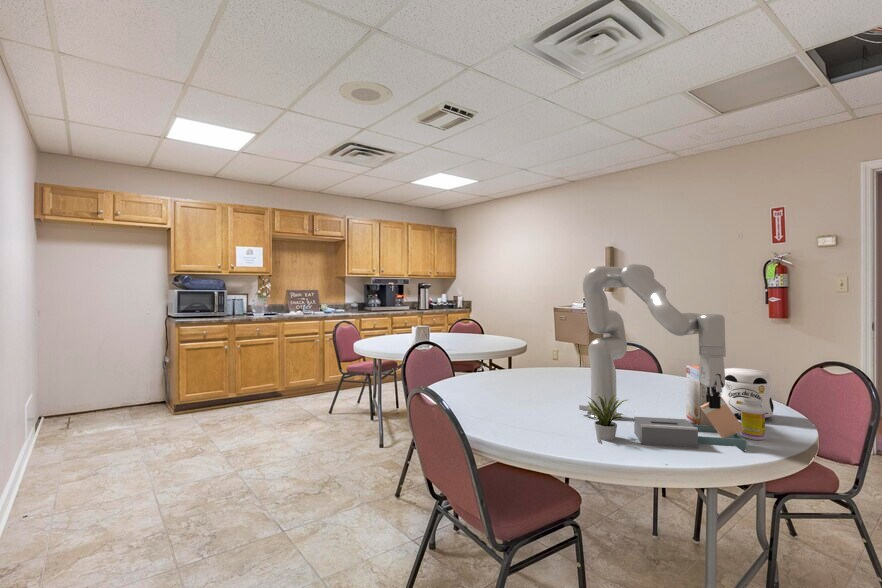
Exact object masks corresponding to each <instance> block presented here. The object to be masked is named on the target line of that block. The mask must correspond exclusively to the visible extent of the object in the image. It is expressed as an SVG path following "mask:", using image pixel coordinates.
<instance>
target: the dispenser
mask: <svg viewBox="0 0 882 588" xmlns="http://www.w3.org/2000/svg"><path fill="white" fill-rule="evenodd" d="M633 423H634V424H633V425H634V426H633V427H634V428H633V429H634V431H633V432H634V434H635V436H636V438H637V439H638V441H639V442H640V444H641V445H644V446H659V447H660V446H661V447H675V448H689V449H690V448H691V449H699V443H698V436H699V431H698V428H697V427H694V426H693V425H694V424H692V425H691V422H689V421H688V420H687V419H685V418H669V417H668V418H666V417H650V416H649V417H646V416H634V421H633Z"/></svg>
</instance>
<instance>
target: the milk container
mask: <svg viewBox="0 0 882 588" xmlns="http://www.w3.org/2000/svg"><path fill="white" fill-rule="evenodd" d="M771 384H772V383H771V373H770V372H769V371H765V370H761V369H754V368H741V367H740V368H739V367H730V368H725V386H724V387H723V388H722V392H721V397H722V398H723V399H724V401H725V402H726V404H727V405H728V407H729V408H730V410H731V411H732V413H733V414H734V416H735V417H736V418H737V419H741V408H742V406H745V402H744V399H745V398H754V399H759V400H761V405H760V407H761V408H763V409H764V411H765V420H766V419H767V420H768V419H770V418H771V417H772V416H773V414H774V410H775V409H774V408H775V406H774V402H773V399H772V394H771V386H772V385H771Z"/></svg>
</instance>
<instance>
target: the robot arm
mask: <svg viewBox="0 0 882 588" xmlns="http://www.w3.org/2000/svg"><path fill="white" fill-rule="evenodd" d="M605 288H607V289H608V288H613V289H614V288H628V289H629V290H631V291H632V292H633V293H634V294H635V295H636V296H637V297H638V298H639V299H640V300H642V302H644V303H645V305H646V306H647V309H648V310H649V312H650V314H651V316H652V317H653V318H654V319H655V320H656V322H657V323H659V324H660V325H661V326H662V327H663V328H664V329H665V330H666V331H668V332H669V333H671V334H672V335H675V336H678V337H684V336H692V335H698V356H699V365H700V366H699V381H700V383H702V384H703V385H705V386H706V403H708V402H709V408H713V409H720V408H721V406H720V396H722V393H723V387H724V386H725V369H726V368H725V359H724V358H725V357H727V355H726V319H725V317H724V315H723V314H720V313H703V314H702V313H693V312H681V311H679V310H678V309H677V308H676V307H675V306H674V305H672V303H671V302H670V301H669V300H668V298H667V296H666V293H667V289H666V287H665V286H663V285H662V284H661V283H660V282H659V281H658V280H657V279H656V278H655V272H654V270H653V269H652V268H651V267H650V266H648V265H645V264H638V263H637V264H636V263H632V264H627V265H626V266H607V265H601V266H596V267H593V268H591V269H590V270H588V272H587V273H586V274H585V275H584V277H583V281H582V292H583V295H584V300H585V309H586V316H587V324H588V328H589V330H590V331H591V332H592V333H593V334H596V335H603V336H602V337H597V338H595V339H593V340H592V341H591V342H590V343H589V345H588V351H587V352H588V358H589V359H588V360H589V365H590V398H591V399H592V400H593V401H595V403H596V404H597V405H598V407H599V408H600V409H601V410H602V413H603V415H604V412H603V408H602V405H601V401H600V399H599V397H598V396H600V397H601V398H602V399H603V400H604V403H605V397H606V402H607V404H608V403H609V400H610V399H611V397H612V396H613V395H616V394H617V370H616V369H617V368H616V366H615V362H614V360H619V359H622V358H623V357H624V356H626V353H627V350H628V343H627V338H626V337H627V336H626V331H625V330H626V329H625V323H624V320H623V317H622V316H621V314H620V313H619V312H617V311H616V310H613V309H610V307H609V302H608V298H607V295H606V292H605V290H604V289H605ZM596 394H597V395H598V396H597V395H596ZM604 395H605V397H604ZM591 399H590V403H591V404H592V405H593V406H594V407H596V406H595V405H594V404H593V403H592V402H593V401H592V400H591ZM616 401H617V395H616V396H615V397H614V399H613V401H612V402H613V403H612V405H611V408H610V410H612V408H613V405H614V404H615V402H616ZM616 406H617V405H616ZM616 406H615V407H616ZM596 408H597V407H596ZM607 408H608V406H607ZM578 409H579V410H578V411H583V412H586V415H587V417H589V418H591V419H593V420H596V421H599V420H598V416H597V415H596V414H594V413H591V412H594V411H590V410H592V408H591V407H590V405H589V404H587V405H583V404H582V405H581V404H579V405H578ZM597 410H598V409H597ZM598 411H599V410H598ZM616 414H619V412H617V408H616V409H615V411H614V412H613V414H612V417H614V416H615V415H616ZM594 416H595V417H597V418H592V417H594ZM612 417H611V419H612ZM616 417H622V415H617V416H616ZM620 419H621V418H617V419H613V420H612V422H614V421H619V420H620Z"/></svg>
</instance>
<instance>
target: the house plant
mask: <svg viewBox="0 0 882 588" xmlns="http://www.w3.org/2000/svg"><path fill="white" fill-rule="evenodd" d="M596 395H597V394H596ZM597 396H598V395H597ZM615 396H616V397H617V393H616V395H613V396H612V397H611V399H610V400H609V403H608V404H607V402H606V397H605V395H604V397H605V403H604V400H603V399H602V398H601V397H600V396H598V397H599V399H600V401H601V405H602V408H603V412H604V415H603V413H602V410H601V409H600V408H599V407H598V405H597V404H596V403H595V401H593V400H592V399H591V397H590V396H586V397H587V398H588V399H589V400H590V401H587V403H588V405H590V407H591V408H592V410H590V411H594V412H591V413H594V414H596V415H597V416H598V420H596V421H594V429H595V434H596V440H597V443H598V444H600V445H603V442H602V441H609V442H610V441H614V440H615V439H616V435H617V428H618V424H617V423H616V422H614V421H613V419H617V418H620V419H623V417H622V416H624V417H626V416H625V415H624V414H623V413H622V412H621V413H619V412H618V413H619V414H616V415H615V416H614V417H612V414H613V412H614V411H615V409H616V410H617V409H618V407H619V406H621V405H622V403H624V402H626V401H628V399H624V400H621V401H620V399H616V402H615V404H614V405H613V408H612V410H610V408H611V405H612V403H613V402H612V401H613V399H614V397H615ZM591 400H592V401H593V402H592V403H593V404H594V405H595V406H596V407H597V408H596V407H594V406H593V405H592V404H591ZM607 406H608V408H607ZM615 406H616V407H615ZM597 409H598V410H599V411H598V410H597ZM617 415H621V417H616V416H617ZM611 417H612V419H611ZM593 418H597V417H595V416H594V417H592V418H591V419H593Z"/></svg>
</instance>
